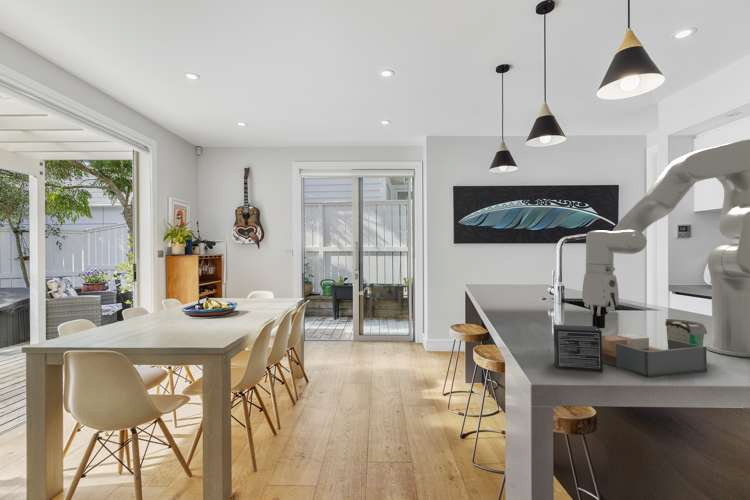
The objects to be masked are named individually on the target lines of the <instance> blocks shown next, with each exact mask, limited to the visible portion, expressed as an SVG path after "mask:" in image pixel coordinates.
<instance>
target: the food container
mask: <svg viewBox="0 0 750 500" xmlns="http://www.w3.org/2000/svg"><path fill="white" fill-rule="evenodd" d="M665 319H666V320H665V322H664V323H665V324H664V325H665V327H666V339H667V349H669V339H673V340H677V341H682V342H686V343H690V344H695V345H699V346H704V338H705V335H707V334H708V331H707V327H706V326H705V324H704V323H702V322H697V321H694V320H693V321H691V320H685V319H676V318H665Z"/></svg>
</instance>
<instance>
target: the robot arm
mask: <svg viewBox="0 0 750 500" xmlns="http://www.w3.org/2000/svg"><path fill="white" fill-rule="evenodd" d="M713 178H715V179H716V180H718V182H720V184H721V185H722V187H723V191H724V192H723V193H724V195H723V203H722V208H721V214H720V219H719V223H718V224H719V225H718V228H719V231H720V233H721V234H722V236H724V237H725V238H728V239H731V240H738V243H728V244H727V243H726V244H722V245H719V246H716V247H715V248H714V249H713V250H711V251H710V252H709V255H708V257H707V268H708V271H709V277H710V283H711V326H712V327H711V328H712V329H711V331H712V339H711V340H712V342H708V343H706V344H705V347H706V350H708V351H710V352H713V353H717V354H721V355H726V356H731V357H732V356H733V357H740V358H750V138H749V139H741V140H738V141H734V142H729V143H725V144H722V145H717V146H713V147H708V148H704V149H700V150H696V151H693V152H690V153H687V154H685V155H683V156H680V157H678V158H675V159H674V160H673V161H671V163H669V164H668V166H667V167H666V168H665V169H664V171H663V172H662V173H661V174H660V175H659V176H658V178H657V179H656V180H655V182H654V183H653V184H652V185H651V187H650V188H649V189H648V190H647V192H646V193H645V194H644V196H643V197H642V198H641V199H639V200H638V201H637V202H636V204H634V206H633V207H632V208H631V209H630V210H629V211H628V212H627V213H626V214H625V215H624V216H623V217H622V218H621V219H620V220H619V222H618V223H617V224H616V225H615V226H614V228H613V229H612V230H611V231H610V230H591V231H588V232H587V233H586V236H585V273H584V277H583V281H582V298H581V299H582V302H583V303H584V305H583V306H584V307H586V308H588V309H589V311H590V315H592V324H591V326H596V327H597V328H599V329H605V327H606V317H607V315H608V313H609V312H610V313H611V312H615V311H616V310H615V307H618V306H619V303H620V302H619V301H620V300H619V283H618V280H617V276H616V275H615V274H614V272H615V270H616V268H615V267H614V265H615V264H614V263H615V261H614V258H615V257H614V255H615V254H619V255H636V254H638V253H640V252H642V251H643V250H645V248H646V246H647V242H648V240H647V237H646V235H645V234H644V233H643V232H644V231H645V230H646V229H647V228H648V227H650V226H651V225H653V224H654V223H655V222H657V221H659V220H661V219H663V218H664V217H666V216H668V215H669V214H670V213H672V212H673V211H674V209H676V207H677V205H678V204H679V203H681V201H682V200H683V199H684V197H685V196H686V194H687V193H688V192H689V191H690V190H691V188H692V187H693V186H694V185H695V183H698V182H701V181H704V180H710V179H713Z"/></svg>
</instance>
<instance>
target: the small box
mask: <svg viewBox="0 0 750 500" xmlns="http://www.w3.org/2000/svg"><path fill="white" fill-rule="evenodd" d="M602 334H603V331H602V330H601V328H597V327H596V326H592V325H572V324H571V325H569V324H568V325H567V324H566V325H565V324H553V350H554V351H553V353H554V355H553V356H554V358H553V359H554V361H553V362H554V364H555V366H556V368H557V369H559V370H560V369H561V370H573V371H574V370H575V371H582V372H583V371H586V372H600V373H603V372H604V366H603V365H604V362H603V361H602V336H603V335H602Z"/></svg>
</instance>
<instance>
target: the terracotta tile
mask: <svg viewBox="0 0 750 500" xmlns="http://www.w3.org/2000/svg"><path fill="white" fill-rule="evenodd" d="M617 343H619V344H623V345H626V346H627V339H623V338H619V337H616V335H610V334H609V335H607V334H606V335H602V349H603V350H606V351H610V352H614V351H616V344H617Z"/></svg>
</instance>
